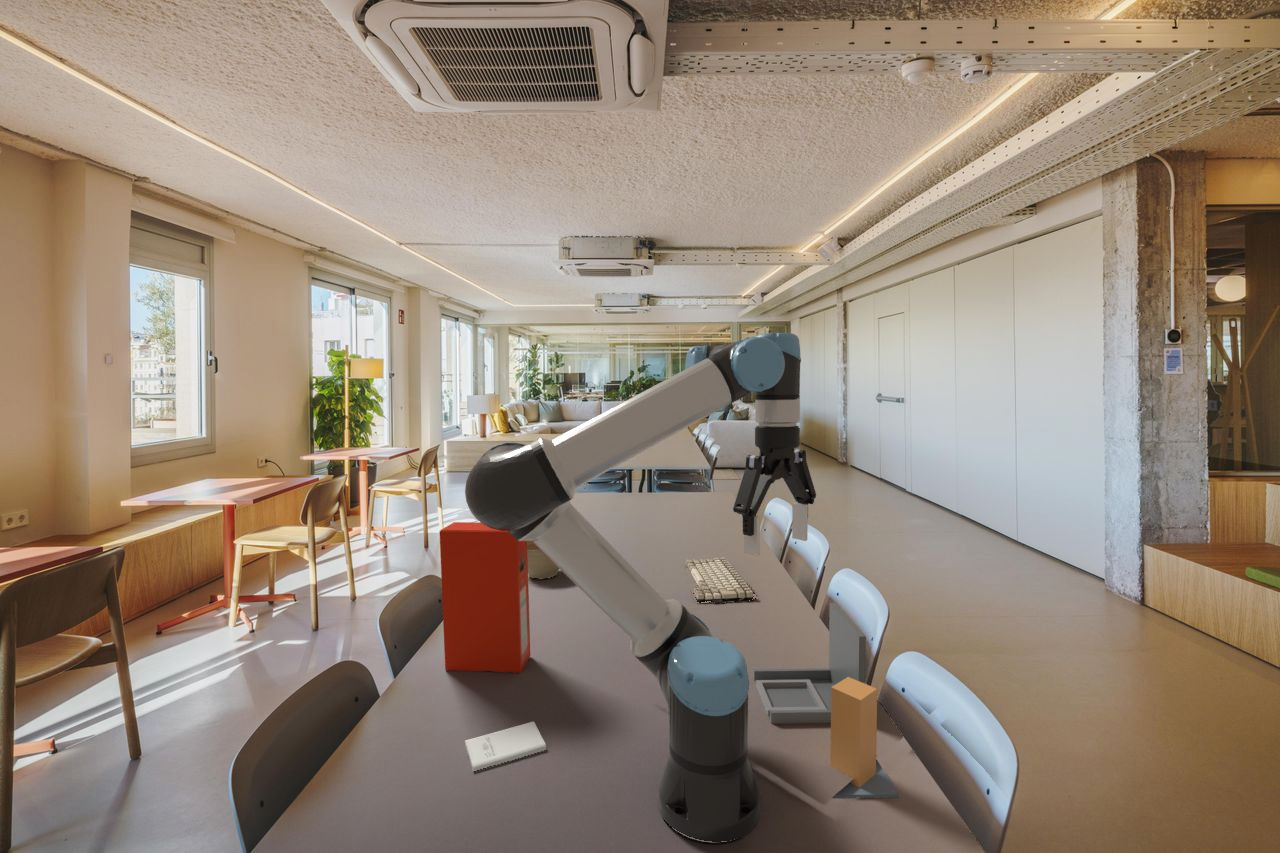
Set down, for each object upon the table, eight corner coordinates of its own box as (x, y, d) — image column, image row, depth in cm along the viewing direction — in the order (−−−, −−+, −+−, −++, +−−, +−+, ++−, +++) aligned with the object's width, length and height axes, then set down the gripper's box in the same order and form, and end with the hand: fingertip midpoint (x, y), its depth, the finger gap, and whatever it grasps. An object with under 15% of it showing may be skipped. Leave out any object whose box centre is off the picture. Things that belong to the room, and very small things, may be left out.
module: (859, 787, 88) (860, 700, 87) (830, 771, 92) (831, 687, 91) (875, 773, 91) (877, 688, 90) (847, 758, 95) (848, 676, 94)
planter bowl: (577, 574, 192) (576, 543, 192) (538, 587, 181) (537, 553, 180) (547, 565, 204) (547, 535, 203) (509, 576, 192) (508, 544, 191)
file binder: (520, 674, 125) (516, 531, 123) (444, 671, 127) (439, 530, 125) (530, 656, 134) (526, 522, 131) (459, 654, 135) (454, 521, 133)
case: (771, 731, 103) (771, 637, 102) (753, 685, 119) (753, 604, 118) (869, 730, 103) (870, 636, 102) (838, 684, 119) (839, 602, 118)
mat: (833, 798, 86) (833, 795, 86) (813, 755, 96) (813, 753, 96) (898, 797, 86) (898, 794, 86) (872, 755, 96) (872, 752, 96)
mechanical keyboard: (676, 566, 201) (676, 557, 201) (728, 564, 203) (728, 555, 203) (697, 607, 164) (697, 596, 164) (761, 604, 166) (761, 593, 166)
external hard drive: (546, 753, 99) (473, 775, 93) (533, 728, 106) (464, 747, 101) (546, 744, 99) (472, 766, 93) (533, 720, 106) (464, 738, 101)
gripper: (800, 420, 108) (800, 530, 110) (711, 427, 92) (711, 555, 94) (836, 421, 103) (835, 537, 104) (747, 429, 87) (747, 566, 88)
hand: (776, 546), depth 99 cm, fingers open, 13 cm apart
